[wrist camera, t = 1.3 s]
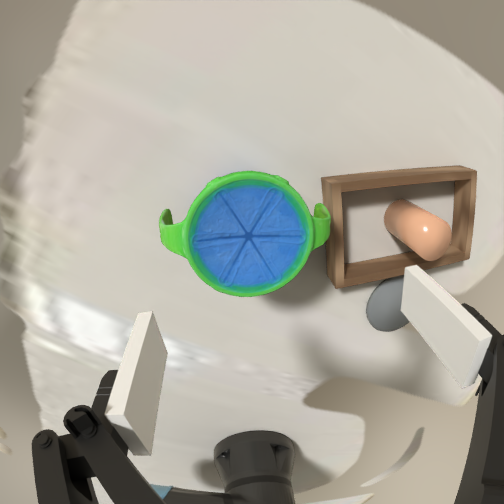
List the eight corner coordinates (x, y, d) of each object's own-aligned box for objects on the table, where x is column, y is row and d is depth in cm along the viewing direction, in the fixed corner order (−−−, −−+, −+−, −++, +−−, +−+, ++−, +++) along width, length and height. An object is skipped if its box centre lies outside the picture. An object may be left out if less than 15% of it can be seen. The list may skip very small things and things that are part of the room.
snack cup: (318, 165, 34) (354, 184, 24) (304, 255, 38) (330, 300, 28) (171, 153, 32) (150, 167, 23) (169, 248, 36) (152, 293, 27)
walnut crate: (455, 249, 39) (469, 258, 36) (327, 274, 39) (336, 288, 36) (460, 165, 35) (476, 170, 32) (321, 177, 34) (331, 183, 31)
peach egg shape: (414, 232, 38) (449, 257, 31) (383, 237, 38) (416, 264, 30) (415, 197, 36) (453, 217, 29) (383, 201, 36) (419, 222, 29)
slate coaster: (417, 321, 44) (418, 323, 43) (364, 335, 43) (366, 337, 43) (424, 268, 40) (426, 270, 40) (367, 281, 40) (369, 283, 39)
